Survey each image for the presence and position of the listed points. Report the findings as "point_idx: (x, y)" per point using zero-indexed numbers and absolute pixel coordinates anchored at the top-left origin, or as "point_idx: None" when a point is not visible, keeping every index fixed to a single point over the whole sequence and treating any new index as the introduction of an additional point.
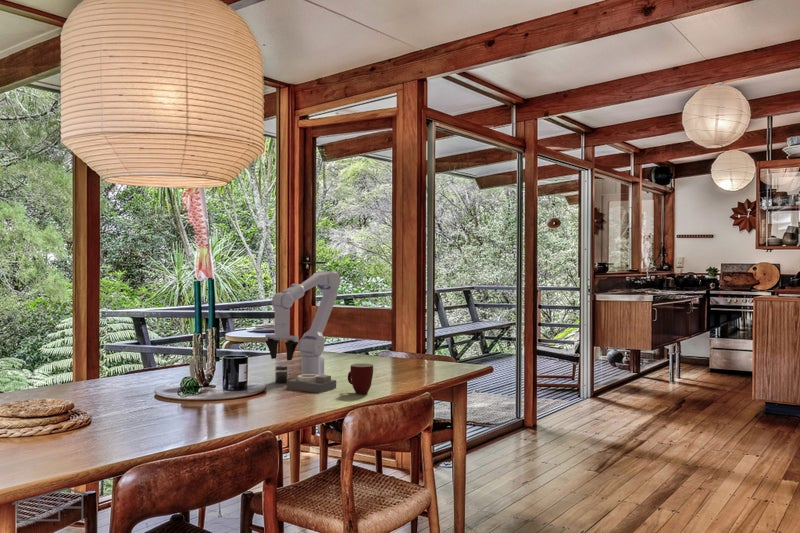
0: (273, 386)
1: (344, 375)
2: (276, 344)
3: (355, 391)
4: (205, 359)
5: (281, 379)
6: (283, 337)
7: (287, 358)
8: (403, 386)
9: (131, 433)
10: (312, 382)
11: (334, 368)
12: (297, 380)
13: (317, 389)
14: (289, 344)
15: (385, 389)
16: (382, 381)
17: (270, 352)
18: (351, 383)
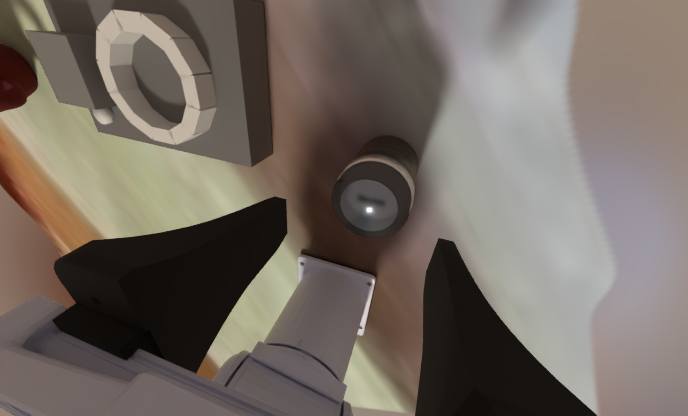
0: (368, 35)
1: (264, 320)
2: (419, 407)
3: (5, 47)
4: None
5: (367, 145)
6: (77, 395)
7: (271, 201)
8: (64, 213)
9: None
10: (100, 17)
11: (347, 399)
12: (191, 36)
13: None
14: (88, 243)
15: (49, 162)
16: None
17: (463, 276)
18: (12, 83)
